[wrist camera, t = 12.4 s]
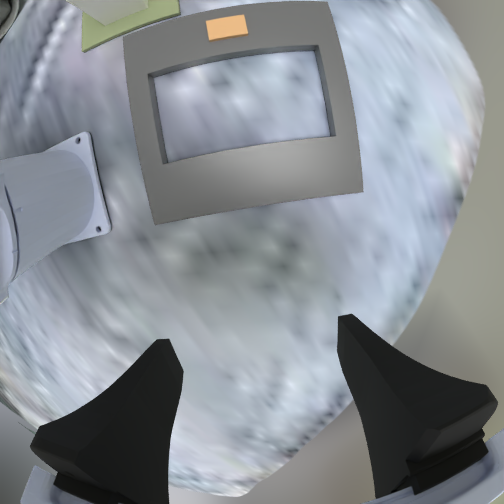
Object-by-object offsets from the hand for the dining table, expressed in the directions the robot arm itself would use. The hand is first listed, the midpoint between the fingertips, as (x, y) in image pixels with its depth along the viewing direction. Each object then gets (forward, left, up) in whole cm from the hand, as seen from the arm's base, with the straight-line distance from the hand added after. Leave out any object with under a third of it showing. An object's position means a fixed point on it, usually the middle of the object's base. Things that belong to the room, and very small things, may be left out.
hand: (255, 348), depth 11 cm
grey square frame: (+1, +11, -9) cm, 15 cm away
